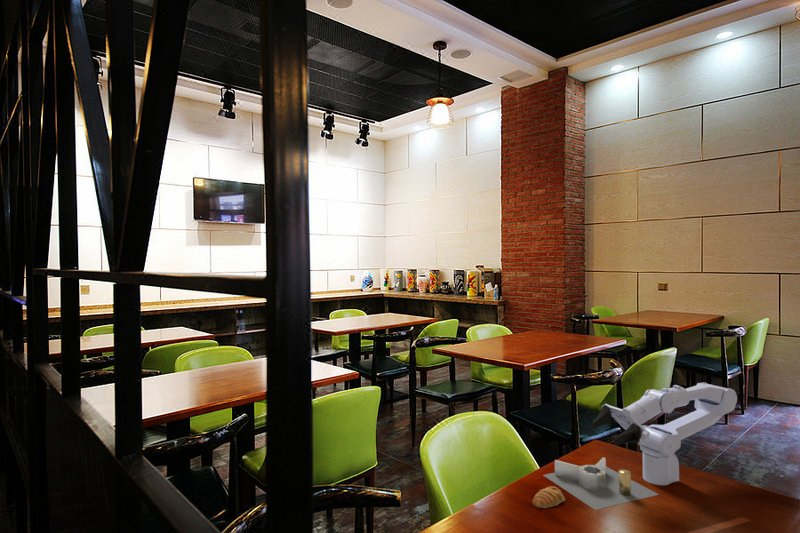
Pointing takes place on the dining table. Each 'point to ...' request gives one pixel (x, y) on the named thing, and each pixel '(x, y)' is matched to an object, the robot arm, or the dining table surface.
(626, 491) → the pin
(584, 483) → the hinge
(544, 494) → the pastry
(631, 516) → the dining table surface
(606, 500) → the mat
